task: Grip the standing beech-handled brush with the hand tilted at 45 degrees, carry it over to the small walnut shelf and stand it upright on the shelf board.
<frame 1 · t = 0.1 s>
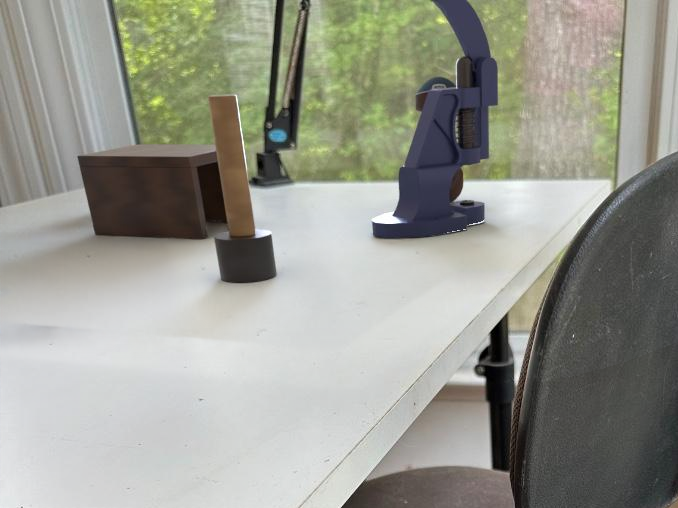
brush: (248, 276, 91), on the table
shelf: (176, 227, 115), on the table
headphones: (442, 204, 125), on the table
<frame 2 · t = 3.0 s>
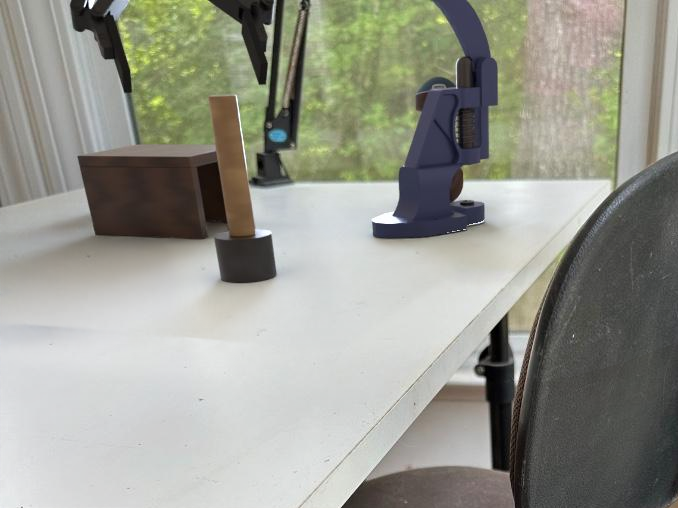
hand: (197, 78, 90), 17 cm above the table, tool tilted 45°, fingers open, 13 cm apart
nothing on the table moved.
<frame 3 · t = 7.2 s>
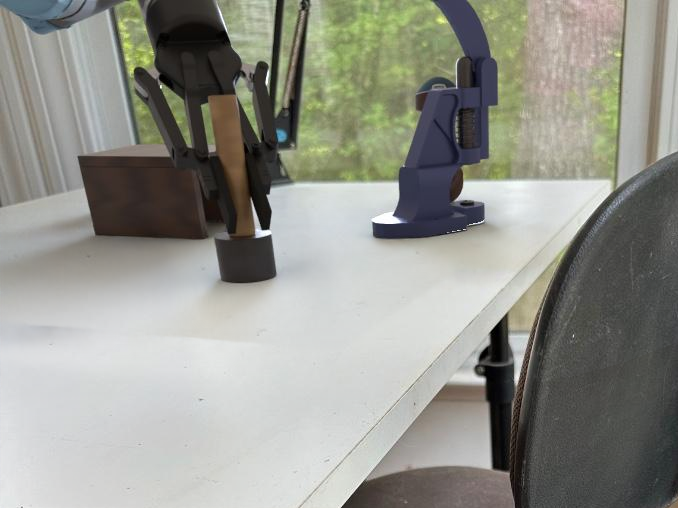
hand: (249, 222, 85), 6 cm above the table, tool tilted 45°, fingers closed on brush, 3 cm apart
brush: (248, 276, 91), on the table, touching gripper
everything else where it was.
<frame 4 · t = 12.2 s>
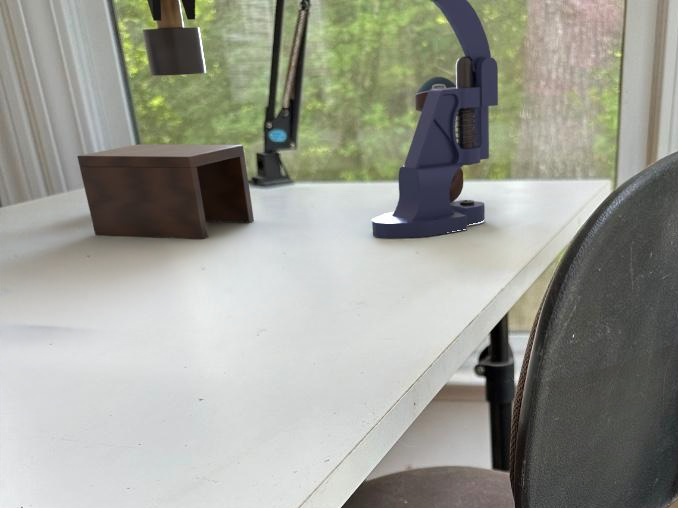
hand: (174, 7, 87), 23 cm above the table, tool tilted 45°, fingers closed on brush, 3 cm apart
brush: (178, 74, 93), point 17 cm above the table, touching gripper
everything else where it was.
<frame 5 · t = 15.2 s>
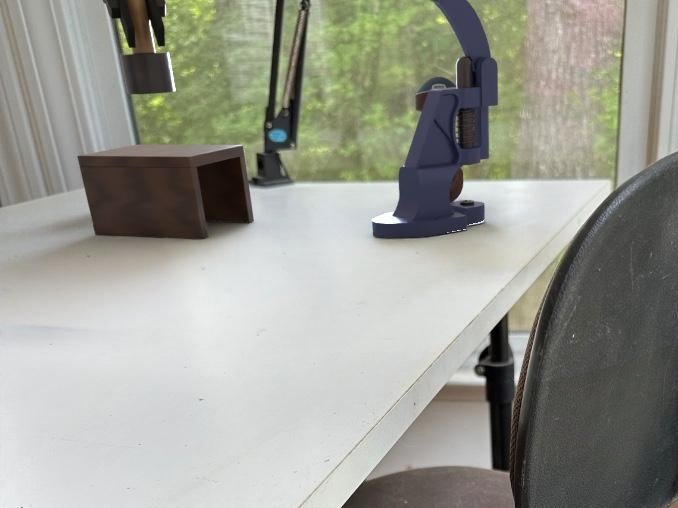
hand: (146, 36, 101), 21 cm above the table, tool tilted 45°, fingers closed on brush, 3 cm apart
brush: (151, 92, 107), point 15 cm above the table, touching gripper
everything else where it was.
when the fingers open (15 cm above the table, at t = 17.2 s): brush stays where it is, resting on shelf.
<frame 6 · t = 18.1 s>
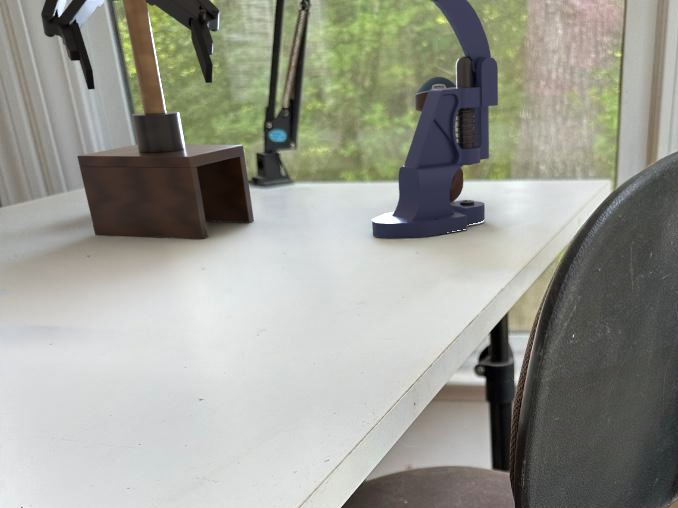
hand: (151, 77, 105), 17 cm above the table, tool tilted 45°, fingers open, 13 cm apart
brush: (162, 150, 111), point 9 cm above the table, touching shelf
everything else where it was.
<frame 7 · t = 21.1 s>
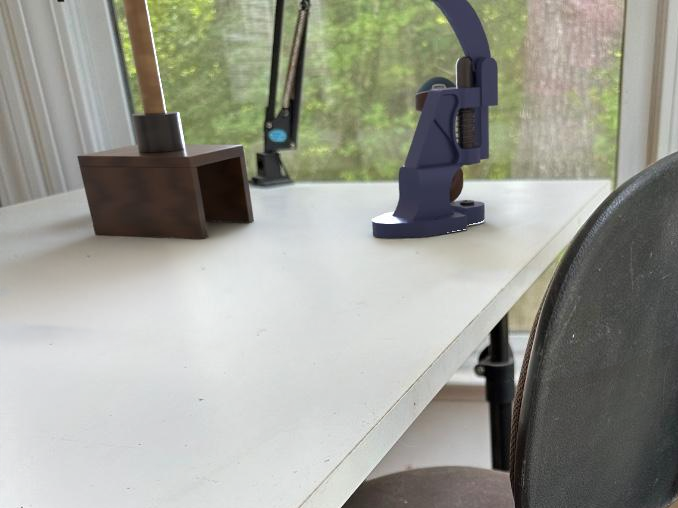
nothing on the table moved.
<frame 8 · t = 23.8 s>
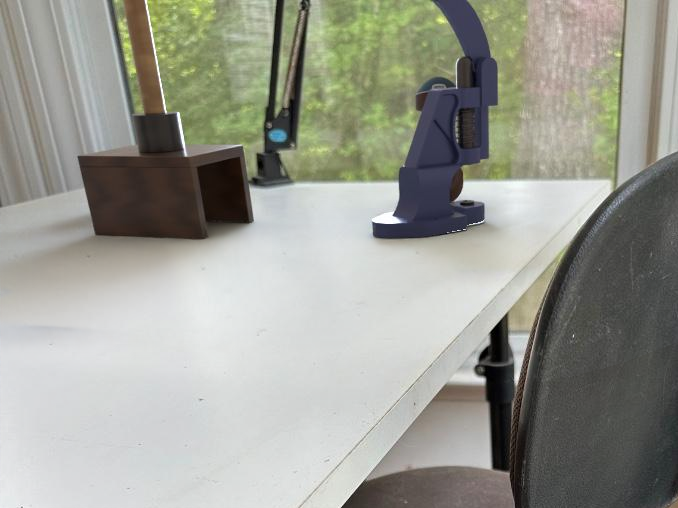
nothing on the table moved.
at the end: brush inside the target area on the shelf (0.1 cm from its centre), point 9.0 cm above the shelf's base; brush tilted 0°; the gripper is holding nothing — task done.
